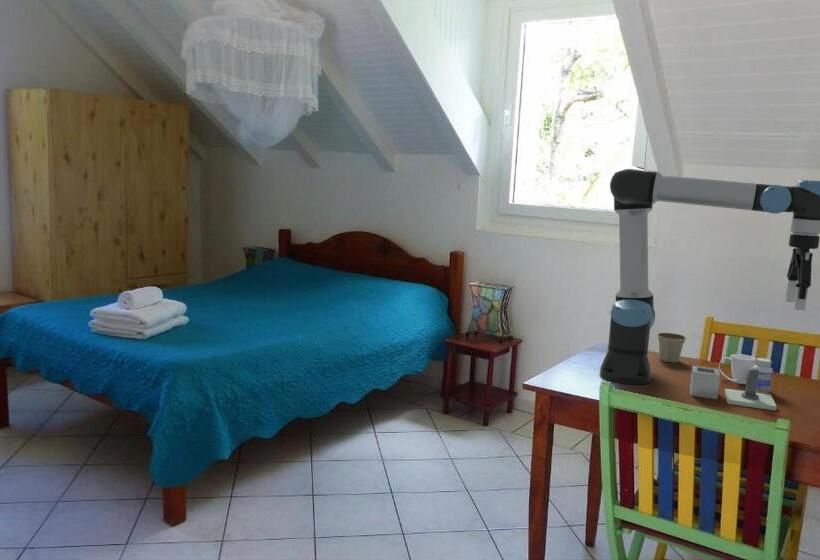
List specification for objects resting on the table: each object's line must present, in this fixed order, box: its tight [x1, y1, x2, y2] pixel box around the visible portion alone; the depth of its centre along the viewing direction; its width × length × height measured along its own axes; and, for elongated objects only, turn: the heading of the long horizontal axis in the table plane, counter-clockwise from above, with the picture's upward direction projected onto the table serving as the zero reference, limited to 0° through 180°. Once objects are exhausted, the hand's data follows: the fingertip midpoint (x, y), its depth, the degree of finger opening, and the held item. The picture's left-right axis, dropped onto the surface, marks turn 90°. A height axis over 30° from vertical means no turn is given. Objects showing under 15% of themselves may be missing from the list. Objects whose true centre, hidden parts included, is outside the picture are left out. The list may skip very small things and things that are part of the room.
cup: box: [718, 353, 757, 385], centre depth 209 cm, size 7×10×8 cm
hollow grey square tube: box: [689, 365, 721, 400], centre depth 195 cm, size 7×7×7 cm
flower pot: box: [656, 332, 688, 364], centre depth 231 cm, size 9×9×9 cm
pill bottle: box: [752, 357, 774, 394], centre depth 200 cm, size 5×5×10 cm
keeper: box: [724, 368, 777, 411], centre depth 190 cm, size 12×11×9 cm
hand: (794, 305), depth 199 cm, fingers open, 13 cm apart
